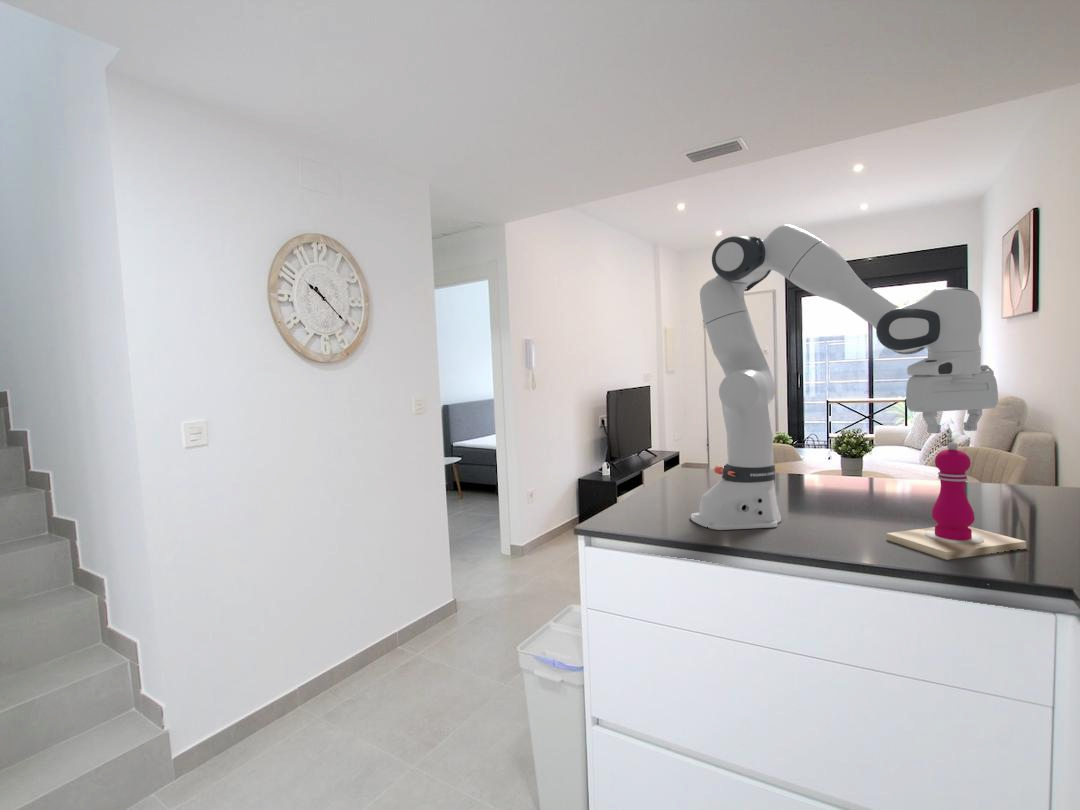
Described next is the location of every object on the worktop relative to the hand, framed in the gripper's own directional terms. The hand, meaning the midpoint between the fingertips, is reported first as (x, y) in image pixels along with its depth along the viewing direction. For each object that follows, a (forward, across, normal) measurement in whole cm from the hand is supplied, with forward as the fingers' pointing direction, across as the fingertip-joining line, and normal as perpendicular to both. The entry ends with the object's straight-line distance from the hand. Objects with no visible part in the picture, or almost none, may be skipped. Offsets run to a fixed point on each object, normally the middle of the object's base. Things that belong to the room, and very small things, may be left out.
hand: (952, 432), depth 115 cm
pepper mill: (+22, 0, 0) cm, 22 cm away
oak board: (+24, 0, 0) cm, 24 cm away
